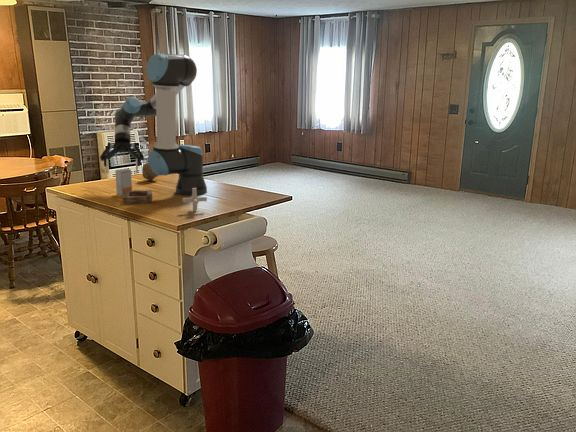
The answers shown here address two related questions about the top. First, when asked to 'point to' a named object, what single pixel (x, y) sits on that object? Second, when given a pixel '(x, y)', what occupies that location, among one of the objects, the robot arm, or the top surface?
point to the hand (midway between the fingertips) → (122, 171)
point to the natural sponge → (148, 172)
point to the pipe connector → (194, 199)
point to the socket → (137, 196)
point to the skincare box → (123, 181)
